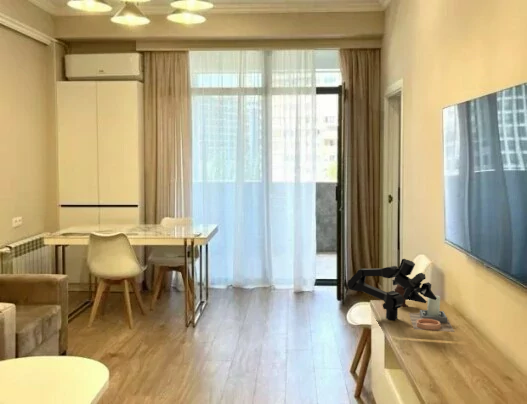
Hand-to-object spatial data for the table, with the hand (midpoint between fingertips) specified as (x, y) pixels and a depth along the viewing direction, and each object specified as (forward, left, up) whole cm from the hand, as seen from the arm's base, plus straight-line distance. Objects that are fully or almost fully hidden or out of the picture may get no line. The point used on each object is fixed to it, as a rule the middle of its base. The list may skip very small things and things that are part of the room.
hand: (431, 300), depth 286 cm
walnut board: (-12, +2, -15) cm, 19 cm away
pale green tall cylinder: (-18, +4, -13) cm, 22 cm away
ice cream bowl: (-40, -9, -15) cm, 44 cm away
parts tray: (-18, +4, -14) cm, 23 cm away
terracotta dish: (-4, 0, -14) cm, 14 cm away
